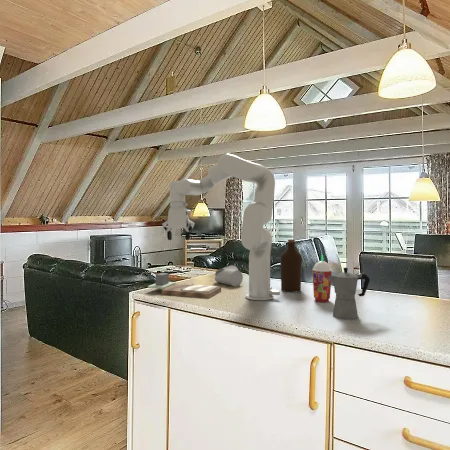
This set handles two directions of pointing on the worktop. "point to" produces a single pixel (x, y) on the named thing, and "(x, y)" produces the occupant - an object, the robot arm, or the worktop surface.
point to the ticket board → (192, 290)
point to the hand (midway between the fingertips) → (178, 239)
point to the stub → (162, 281)
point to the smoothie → (321, 281)
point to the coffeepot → (347, 293)
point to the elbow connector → (229, 276)
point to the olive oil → (291, 268)
